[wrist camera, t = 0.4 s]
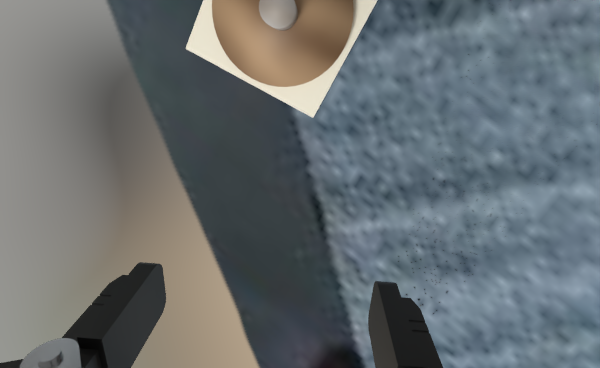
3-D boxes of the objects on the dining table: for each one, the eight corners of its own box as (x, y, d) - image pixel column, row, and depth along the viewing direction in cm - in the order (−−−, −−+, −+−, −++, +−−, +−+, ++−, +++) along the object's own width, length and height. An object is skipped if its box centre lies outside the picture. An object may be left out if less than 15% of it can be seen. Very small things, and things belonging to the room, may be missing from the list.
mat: (247, -111, 30) (245, -114, 30) (388, -22, 32) (389, -23, 32) (187, 48, 35) (185, 48, 35) (313, 116, 37) (313, 117, 37)
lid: (249, -101, 30) (235, -135, 24) (379, -19, 32) (393, -34, 26) (194, 45, 35) (171, 44, 29) (310, 109, 37) (310, 119, 31)
